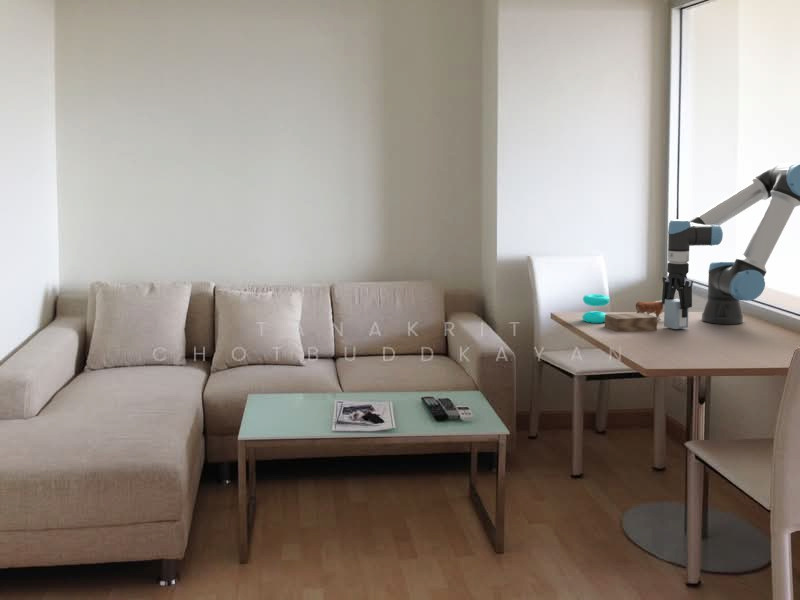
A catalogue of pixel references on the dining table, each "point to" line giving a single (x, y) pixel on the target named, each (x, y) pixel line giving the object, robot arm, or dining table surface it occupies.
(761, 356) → the dining table surface
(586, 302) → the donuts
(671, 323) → the column
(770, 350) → the dining table surface
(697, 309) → the dining table surface
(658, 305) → the bull figurine
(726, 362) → the dining table surface
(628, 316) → the plinth
